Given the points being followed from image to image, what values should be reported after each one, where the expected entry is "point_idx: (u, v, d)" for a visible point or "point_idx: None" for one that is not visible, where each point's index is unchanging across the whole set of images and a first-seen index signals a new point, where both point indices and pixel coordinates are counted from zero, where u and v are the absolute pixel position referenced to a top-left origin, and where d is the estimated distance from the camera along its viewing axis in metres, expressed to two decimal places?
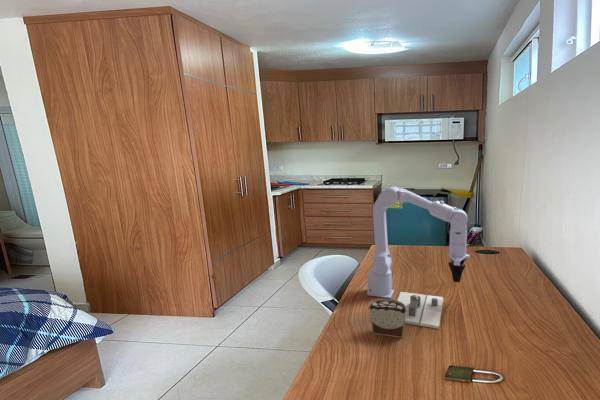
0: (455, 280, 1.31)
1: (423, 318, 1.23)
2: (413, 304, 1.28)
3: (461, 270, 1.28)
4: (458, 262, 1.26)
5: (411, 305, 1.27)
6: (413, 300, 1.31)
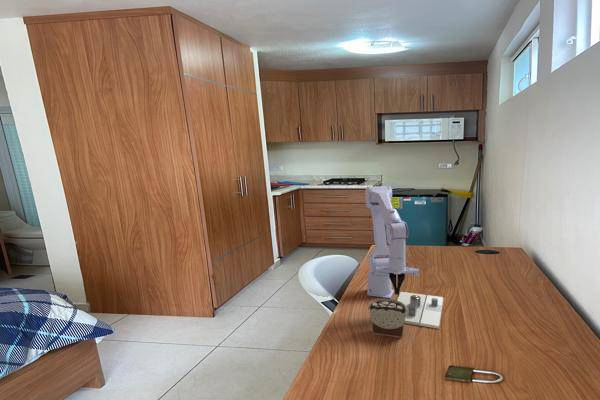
0: None
1: (423, 318, 1.23)
2: (413, 304, 1.28)
3: None
4: (375, 270, 1.28)
5: (411, 305, 1.27)
6: (413, 300, 1.31)
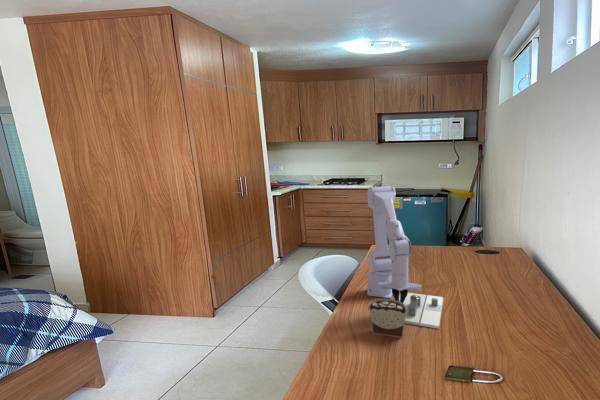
0: None
1: (423, 318, 1.23)
2: (413, 304, 1.28)
3: None
4: (378, 285, 1.29)
5: (411, 305, 1.27)
6: (413, 300, 1.31)
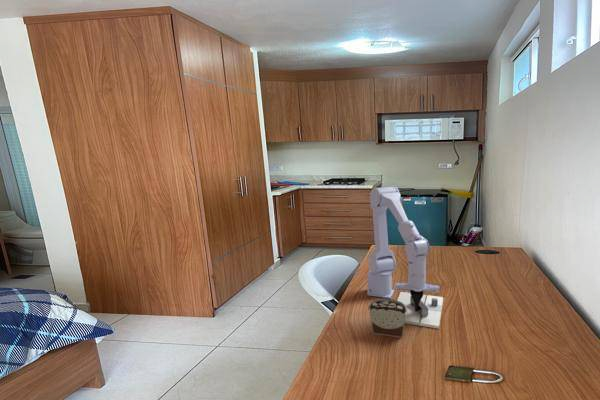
0: None
1: (423, 318, 1.23)
2: (421, 304, 1.27)
3: None
4: (395, 286, 1.27)
5: (421, 306, 1.26)
6: None
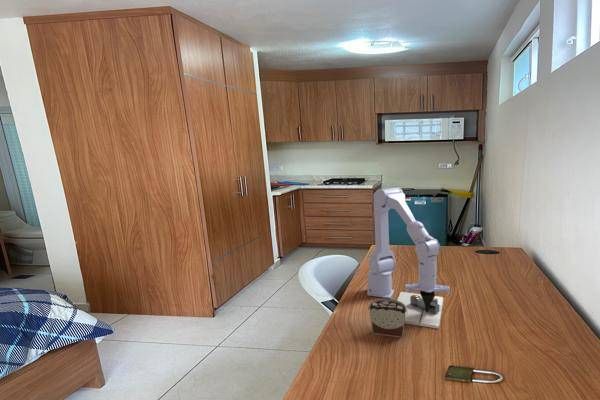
0: (425, 308, 1.27)
1: (423, 318, 1.23)
2: None
3: None
4: (405, 287, 1.26)
5: (431, 304, 1.27)
6: (421, 300, 1.31)
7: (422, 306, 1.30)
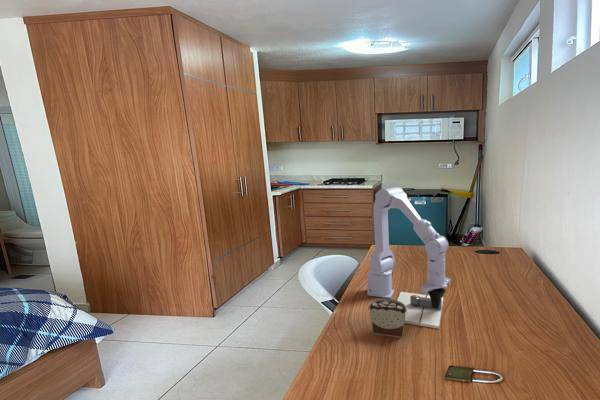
0: (434, 305, 1.29)
1: (423, 318, 1.23)
2: None
3: (437, 296, 1.26)
4: (424, 290, 1.23)
5: None
6: (422, 298, 1.32)
7: (425, 304, 1.31)
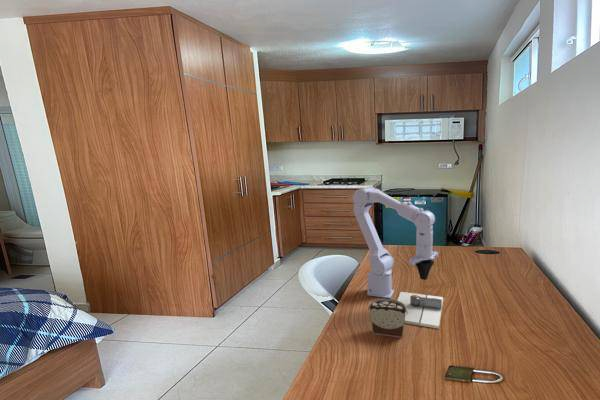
0: (421, 277, 1.35)
1: (423, 318, 1.23)
2: (432, 299, 1.31)
3: (424, 268, 1.32)
4: (412, 261, 1.30)
5: (435, 300, 1.30)
6: (422, 298, 1.32)
7: (425, 304, 1.31)
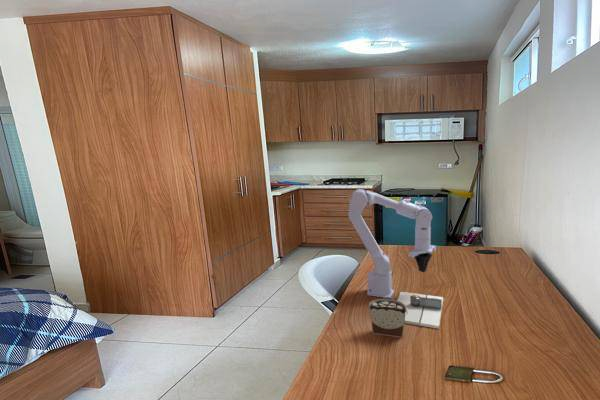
0: (420, 269, 1.43)
1: (423, 318, 1.23)
2: (432, 299, 1.31)
3: (422, 261, 1.40)
4: (412, 254, 1.38)
5: (435, 300, 1.30)
6: (422, 298, 1.32)
7: (425, 304, 1.31)
